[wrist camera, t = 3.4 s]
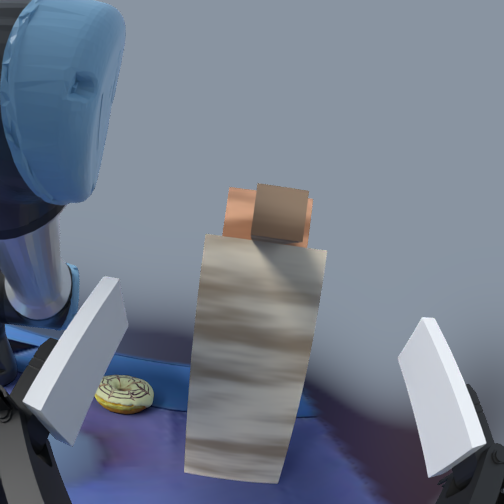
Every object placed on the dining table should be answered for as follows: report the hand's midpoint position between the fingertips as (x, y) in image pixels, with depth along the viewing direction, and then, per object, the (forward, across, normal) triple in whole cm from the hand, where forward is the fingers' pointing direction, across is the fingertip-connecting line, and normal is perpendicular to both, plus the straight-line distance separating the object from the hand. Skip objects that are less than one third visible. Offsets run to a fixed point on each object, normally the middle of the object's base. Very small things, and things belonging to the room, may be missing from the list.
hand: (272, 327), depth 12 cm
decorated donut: (+14, -20, -39) cm, 46 cm away
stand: (+6, 0, -34) cm, 34 cm away
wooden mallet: (+16, 0, -5) cm, 17 cm away
